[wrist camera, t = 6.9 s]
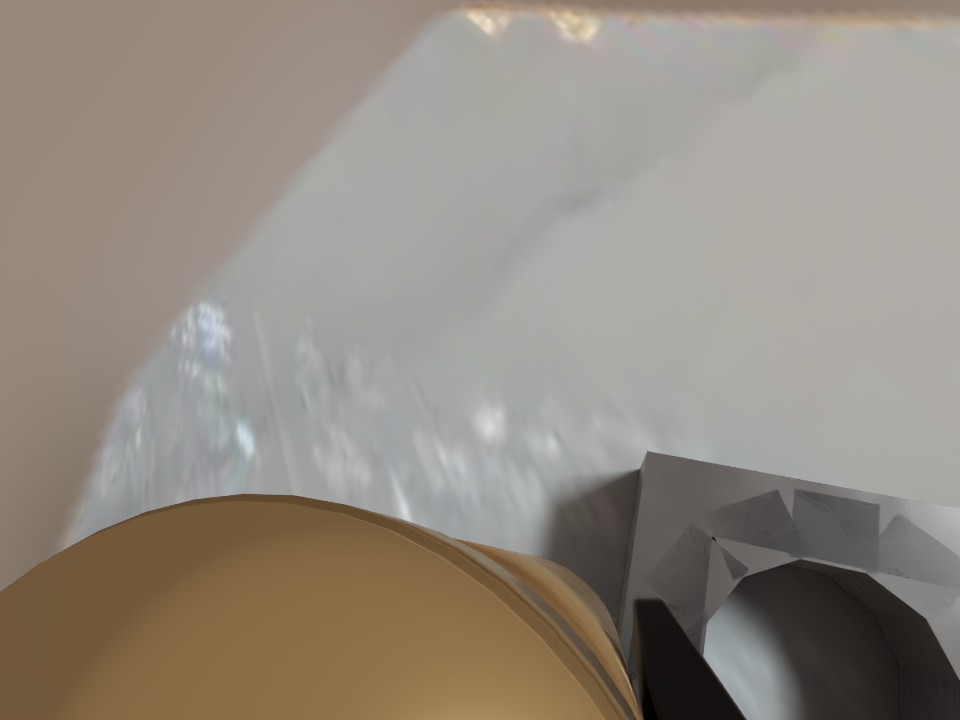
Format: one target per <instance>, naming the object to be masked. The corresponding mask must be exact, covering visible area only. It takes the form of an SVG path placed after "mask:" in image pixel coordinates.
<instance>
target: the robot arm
mask: <svg viewBox="0 0 960 720" xmlns="http://www.w3.org/2000/svg"><path fill="white" fill-rule="evenodd" d="M633 630H634V648H635V658H636V668H637V677H638V687H639V697H640V706H641V713H642V717H643V720H747V719H746V718H745V716H744V715H743V713H742V712H741V711H740V709H739V708H738V706H737V705H736V703H735V702H734V700H733V699H732V698H731V696H730V695H729V693H728V692H727V690H726V689H725V688H724V686H723V685H722V683H721V682H720V680H719V679H718V677H717V676H716V675H715V673H714V672H713V670H712V669H711V667H710V666H709V664H708V663H707V662H706V660H705V659H704V657H703V656H702V654H701V653H700V652H699V650H698V649H697V647H696V646H695V644H694V643H693V641H692V640H691V639H690V637H689V636H688V634H687V633H686V631H685V630H684V628H683V627H682V626H681V624H680V623H679V621H678V620H677V618H676V617H675V616H674V614H673V613H672V611H671V610H670V608H669V607H668V605H667V604H666V603H665V602H664V600H662V599H661V598H657V597H638V598H635V599H634V600H633Z"/></svg>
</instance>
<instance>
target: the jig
mask: <svg viewBox="0 0 960 720" xmlns="http://www.w3.org/2000/svg"><path fill="white" fill-rule="evenodd" d="M783 564H786V565H791V566H795V567H800V568H804V569H809V570H814V571H818V572H823V573H824V574H825V575H827V576H828V577H829V578H830V579H832V580H833V581H834V582H835V583H837V584H838V585H839V586H841V587H842V588H843V589H844V590H846V591H847V592H848V593H850V594H851V595H852V596H853V597H855V598H856V599H857V600H858V601H860V602H861V603H862V604H864V605H865V606H866V607H867V608H869V609H870V610H871V611H872V613H873V615H874V617H875V619H876V621H877V623H878V625H879V627H880V629H881V631H882V633H883V634H884V636H885V638H886V640H887V642H888V644H889V646H890V648H891V650H892V652H893V654H894V656H895V658H896V660H897V662H898V664H899V666H900V705H899V720H960V509H956V508H951V507H946V506H940V505H935V504H929V503H924V502H919V501H913V500H908V499H902V498H897V497H892V496H886V495H881V494H875V493H870V492H865V491H859V490H854V489H848V488H843V487H838V486H832V485H827V484H821V483H816V482H811V481H805V480H800V479H794V478H789V477H784V476H778V475H773V474H767V473H762V472H757V471H751V470H746V469H740V468H735V467H730V466H724V465H719V464H713V463H708V462H703V461H697V460H692V459H686V458H681V457H676V456H670V455H665V454H659V453H654V452H649V451H647V453H646V456H645V458H644V460H643V463H642V465H641V468H640V473H639V480H638V487H637V494H636V500H635V507H634V514H633V521H632V528H631V535H630V542H629V548H628V555H627V562H626V569H625V576H624V583H623V590H622V596H621V603H620V610H619V617H618V624H617V633H618V636H619V640H620V643H621V646H622V650H623V653H624V656H625V660H626V663H627V667H628V670H629V673H630V677H631V680H632V683H633V687H634V690H635V693H636V697H637V700H638V703H639V707H640V710H641V706H640V697H639V687H638V677H637V668H636V658H635V648H634V630H633V600H634V599H635V598H638V597H657V598H661V599H662V600H664V602H665V603H666V604H667V605H668V607H669V608H670V610H671V611H672V613H673V614H674V616H675V617H676V618H677V620H678V621H679V623H680V624H681V626H682V627H683V628H684V630H685V631H686V633H687V634H688V636H689V637H690V639H691V640H692V641H693V643H694V644H695V646H696V647H697V649H698V650H699V652H700V653H701V654H702V656H703V653H704V643H705V634H706V624H707V622H708V621H709V620H710V618H711V617H712V616H713V615H714V613H715V612H716V611H717V610H718V608H719V607H720V606H721V604H722V603H723V602H724V601H725V599H726V598H727V597H728V596H729V594H730V593H731V592H732V591H733V589H734V588H735V587H736V586H737V584H738V583H739V582H740V580H741V579H742V578H743V577H745V576H748V575H752V574H755V573H758V572H761V571H764V570H767V569H770V568H774V567H777V566H780V565H783Z"/></svg>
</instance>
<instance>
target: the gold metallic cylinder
mask: <svg viewBox="0 0 960 720" xmlns="http://www.w3.org/2000/svg"><path fill="white" fill-rule="evenodd" d="M0 720H643V717H642V713H641V710H640V707H639V703H638V700H637V697H636V693H635V690H634V687H633V683H632V680H631V677H630V673H629V670H628V667H627V663H626V660H625V656H624V653H623V650H622V646H621V643H620V640H619V636H618V633H617V630H616V627H615V625H614V622H613V620H612V617H611V615H610V614H609V612H608V610H607V608H606V606H605V605H604V603H603V602H602V600H601V599H600V597H599V596H598V595H597V593H596V592H595V591H594V590H593V589H592V588H591V587H590V586H589V585H588V583H586V582H585V581H584V580H583V579H582V578H581V577H579V576H578V575H577V574H575V573H574V572H572V571H571V570H569V569H568V568H566V567H564V566H562V565H560V564H558V563H556V562H553V561H550V560H547V559H544V558H540V557H536V556H531V555H527V554H522V553H518V552H513V551H509V550H504V549H500V548H495V547H491V546H486V545H482V544H477V543H473V542H468V541H464V540H459V539H454V538H451V537H449V536H447V535H445V534H443V533H440V532H438V531H435V530H432V529H429V528H426V527H423V526H420V525H417V524H414V523H411V522H408V521H405V520H402V519H398V518H395V517H391V516H387V515H383V514H379V513H375V512H371V511H368V510H364V509H360V508H356V507H352V506H348V505H344V504H338V503H333V502H327V501H322V500H316V499H311V498H305V497H300V496H294V495H263V494H239V495H230V496H221V497H212V498H204V499H195V500H191V501H187V502H183V503H179V504H175V505H171V506H167V507H163V508H160V509H156V510H152V511H148V512H145V513H142V514H140V515H137V516H135V517H132V518H130V519H127V520H125V521H122V522H120V523H117V524H115V525H112V526H110V527H107V528H105V529H102V530H100V531H98V532H96V533H94V534H92V535H90V536H89V537H87V538H85V539H83V540H81V541H80V542H78V543H76V544H74V545H72V546H71V547H69V548H67V549H65V550H63V551H62V552H60V553H58V554H56V555H54V556H52V557H51V558H49V559H48V560H46V561H44V562H42V563H40V564H39V565H37V566H36V567H34V568H33V569H31V570H30V571H29V572H27V573H26V574H25V575H23V576H22V577H20V578H19V579H18V580H16V581H15V582H13V583H12V584H11V585H9V586H8V587H6V588H5V589H4V590H2V591H1V592H0Z"/></svg>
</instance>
